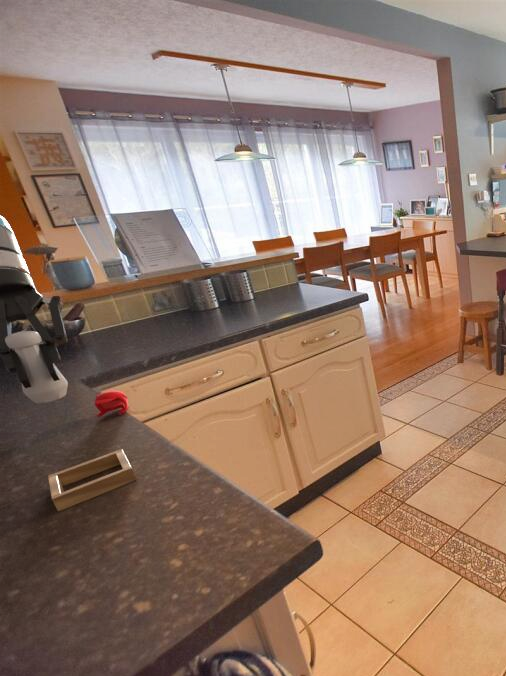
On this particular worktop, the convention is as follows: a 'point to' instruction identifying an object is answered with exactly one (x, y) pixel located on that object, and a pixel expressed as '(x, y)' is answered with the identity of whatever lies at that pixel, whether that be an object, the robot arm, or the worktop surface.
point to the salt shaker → (36, 368)
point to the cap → (111, 402)
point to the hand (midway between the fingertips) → (40, 380)
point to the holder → (93, 487)
